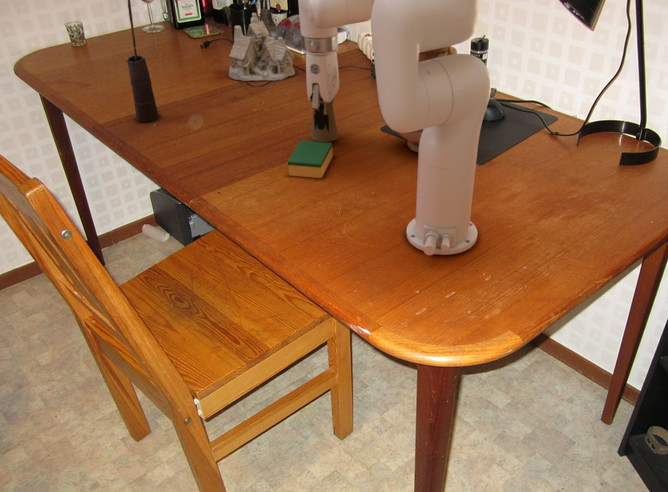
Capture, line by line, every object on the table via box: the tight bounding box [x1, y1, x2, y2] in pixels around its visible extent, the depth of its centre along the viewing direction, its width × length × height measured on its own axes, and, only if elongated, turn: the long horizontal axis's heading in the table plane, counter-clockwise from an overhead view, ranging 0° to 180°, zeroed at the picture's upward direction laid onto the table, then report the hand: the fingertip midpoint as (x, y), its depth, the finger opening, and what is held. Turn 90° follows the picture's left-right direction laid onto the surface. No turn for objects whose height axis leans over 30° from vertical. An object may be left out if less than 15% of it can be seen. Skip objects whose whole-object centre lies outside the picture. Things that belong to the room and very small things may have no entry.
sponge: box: [287, 140, 334, 179], centre depth 136 cm, size 10×7×3 cm
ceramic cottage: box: [228, 12, 296, 82], centre depth 176 cm, size 16×16×15 cm
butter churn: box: [124, 0, 160, 123], centre depth 147 cm, size 9×10×28 cm
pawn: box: [310, 93, 339, 143], centre depth 142 cm, size 6×6×11 cm
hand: (324, 126), depth 144 cm, fingers closed on pawn, 3 cm apart
